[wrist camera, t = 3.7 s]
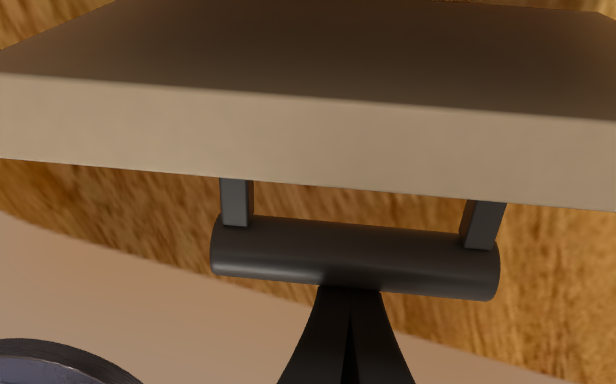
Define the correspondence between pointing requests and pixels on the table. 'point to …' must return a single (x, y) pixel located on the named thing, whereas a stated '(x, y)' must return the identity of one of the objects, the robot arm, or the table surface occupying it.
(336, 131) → the drawer
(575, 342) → the table surface
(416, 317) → the table surface
